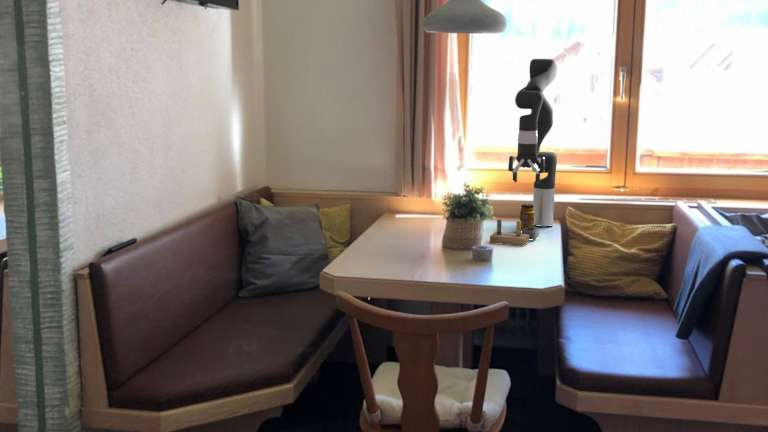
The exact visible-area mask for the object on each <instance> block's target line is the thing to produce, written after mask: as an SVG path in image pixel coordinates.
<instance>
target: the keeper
mask: <svg viewBox="0 0 768 432" xmlns="http://www.w3.org/2000/svg"><path fill="white" fill-rule="evenodd" d="M502 221H503V220H502V219H500V218H499V219H498V218H497V219H496V231H495V232H493V233H492V234H491V235H489V244H495V243H502V244H501V245H506V244H513V245H512V246H517V245H525V244H526V243H527V242H528V241H529V235H527V234H521V221H520V220H516V226H515V227H516V228H515V231H516V232H503V231H502V226H503V225H502ZM529 242H530V241H529ZM529 242H528V243H529ZM528 243H527V244H528ZM527 244H526V245H527ZM526 245H525V246H526Z"/></svg>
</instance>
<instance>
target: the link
mask: <svg viewBox="0 0 768 432" xmlns="http://www.w3.org/2000/svg"><path fill="white" fill-rule="evenodd" d="M521 234H527V235H529V239H533V240H535V239H536V238H537V237H538V236H540V227H534V228H531V227H525V228H524V229H523V230H522V233H521ZM535 241H536V240H535Z"/></svg>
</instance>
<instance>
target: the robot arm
mask: <svg viewBox="0 0 768 432" xmlns="http://www.w3.org/2000/svg"><path fill="white" fill-rule="evenodd" d="M557 73H558V64H557V61H556V60H555V59H553V58H532V59H531V60H530V62H529V81H528V82H527V84H526V86H524V87H522V88H521V89H520V90H518V92H517V93H516V95H515V99H514V101H515V102H514V103H515V106H516V107H517V108H519V109H521V110H531V111H530V113H528V114H524V115H521V116H519V120H518V123H519V124H518V138H517V155H516V156H515V155H510V156H509V157H508V158H509V159H508V168H507V170H508V171H509V172H511V173H512V181H513V183H517V182H518V172H517V171H518V170H519V169H520V168H527V169H530V168H531V170H532V171H533V172H534V173H535V180H534V182H533V192H532V193H533V195H532V196H533V197H532V199H533V200H532V205H534V225H541V226H549V225H553V226H554V212H555V211H554V210H555V192H556V191H555V188H556V172H557V163H558V162H557V161H558V157H557V154H556V153H555V152H554V151H541V150H540V149H541V145H542V143H543V141H544V139H545V138H546V137H547V135H548V134H549V132H550V131H551V129H552V127H553V124H554V111H553V107H552V105H551V103H550V102H549V100H548V99H547V98H546V96H545V94H544V91H545V89H546V88H547V87H549V85H550V84H551V83H552V82H553V81H554V80H555V79H556V76H557ZM515 161H517V165H515V167H514V163H515ZM545 173H546V174H547V175H546V176H545V177H543V178H541V174H545Z"/></svg>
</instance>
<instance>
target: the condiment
mask: <svg viewBox="0 0 768 432" xmlns="http://www.w3.org/2000/svg"><path fill="white" fill-rule="evenodd" d="M519 221H521V231H522V230H523V229H524V228H525V227H531V228H535V226H534V205H533V203H532V204H531V203H523V204H521V208H520V211H519Z"/></svg>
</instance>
